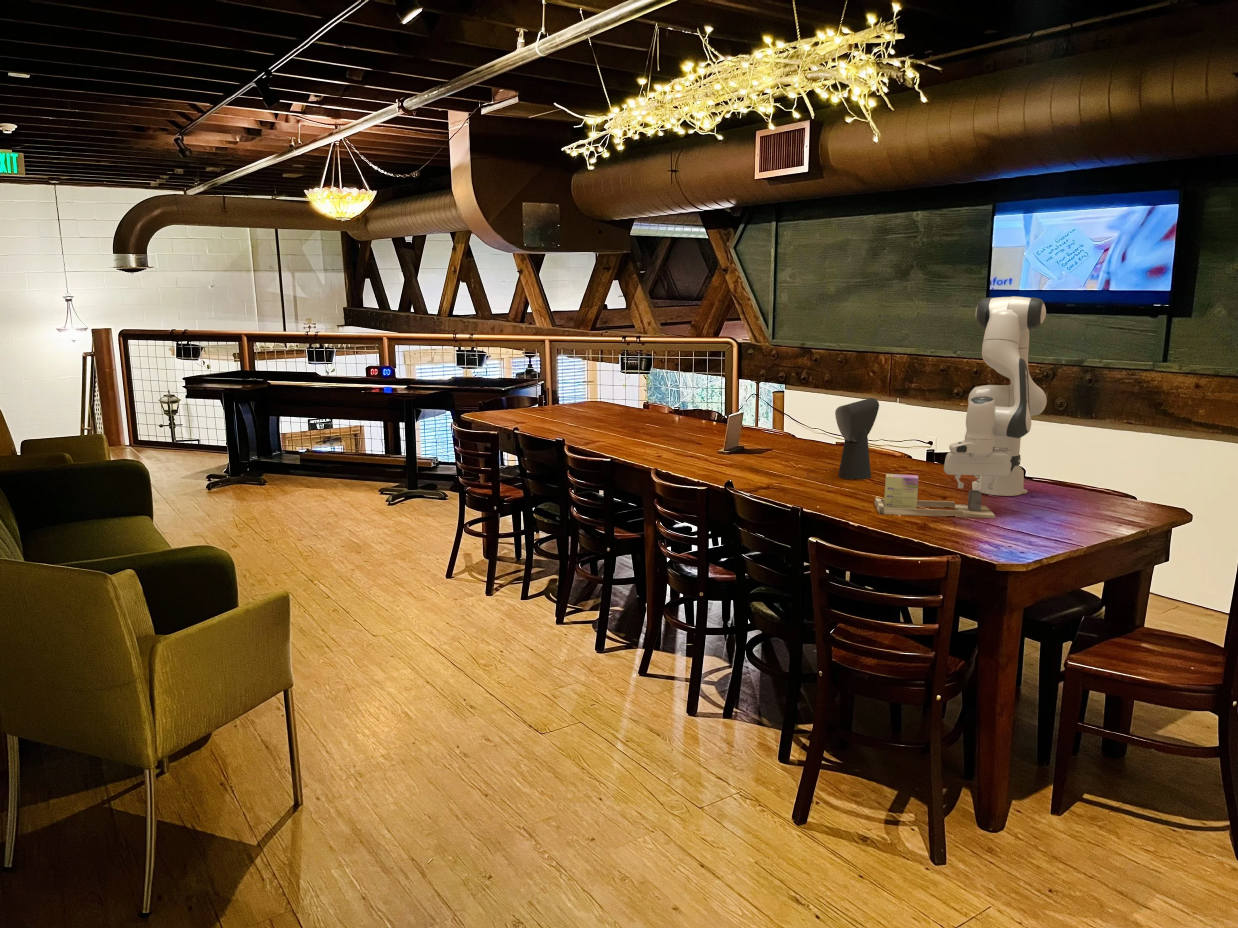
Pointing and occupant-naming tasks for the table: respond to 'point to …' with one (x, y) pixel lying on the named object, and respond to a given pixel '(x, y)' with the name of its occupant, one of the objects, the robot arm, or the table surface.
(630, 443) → the table surface
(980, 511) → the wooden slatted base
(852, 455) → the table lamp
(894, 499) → the box
